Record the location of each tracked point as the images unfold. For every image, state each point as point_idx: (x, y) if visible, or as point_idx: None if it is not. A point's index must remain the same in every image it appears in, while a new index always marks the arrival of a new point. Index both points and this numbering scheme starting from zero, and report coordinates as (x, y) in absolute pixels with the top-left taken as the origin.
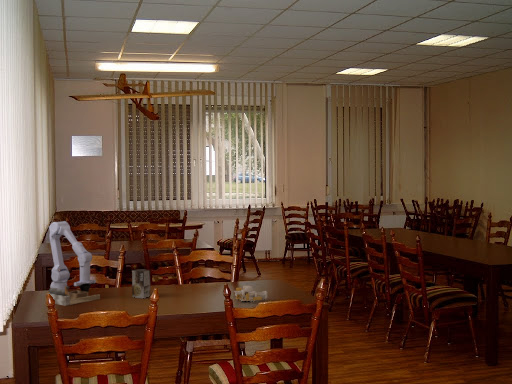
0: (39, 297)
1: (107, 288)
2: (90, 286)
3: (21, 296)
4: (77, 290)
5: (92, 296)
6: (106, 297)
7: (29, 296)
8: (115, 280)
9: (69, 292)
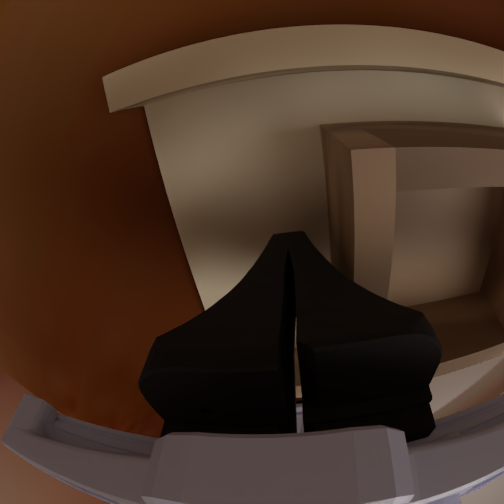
0: None
1: (32, 388)
2: (175, 332)
3: None
4: None
5: (299, 29)
6: (36, 184)
7: None
8: None
9: (489, 344)
